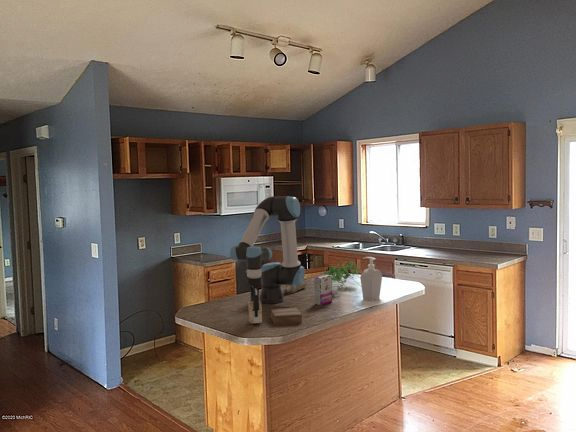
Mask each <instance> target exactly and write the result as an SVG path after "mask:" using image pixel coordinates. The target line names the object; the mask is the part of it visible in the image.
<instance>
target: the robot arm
mask: <svg viewBox="0 0 576 432" xmlns="http://www.w3.org/2000/svg"><path fill="white" fill-rule="evenodd" d="M300 215H301V205H300V202H299V199H298V198H297V197H295V196H290V195H288V196H285V195H283V196H269V197H266V198H265V199H263V200H262V201H261V202H260V203H258V205H257V206H256V207H255V209H254V210H253V216H252V217H251V220H250V222H249V224H248V226H247V227H246V230H245V232H244V233H243V236H242V237H241V239H240V241H239V242H238V245H236V246H232V247H231V248H230V250H229V256H230V260H233V261H240V262H246V270H245V273H246V276H247V278H246V284H247V285H248V286H249V287H250V290H249V291H250V301H253V308H254V309H253V310H252V311H253V323H252V324H260V323H259V301H260V302H261V303H263V304H279V303H282V302H284V301H285V299H284V298H285V297H284V294H283V293H284V292H283V290H282V286H286V285H291V286H299V285H301V284H302V282H303V280H305V276H306V269H305V267H304V266H303V265H302V264H301V261H300V260H299V257H298V246H297V245H298V243H297V231H296V229H297V227H296V222H297V221H298V218H299V216H300ZM272 217H277V222H279V223H280V234H281V245H282V246H281V247H282V259H283V260H282V262H279V261H277V262H275V261H274V262H269V263H268V261H269V260H271V259H272V257H273V252H272V249H271V248H270V247H267V246H263V247H260V246H258V245H255V243H256V241H257V239H258V237H259V235H260V233H261V231H262V230H263V227H264V225H265V223H266V222H267V221H268V220H269V219H270V218H272ZM265 262H267V263H265ZM263 263H264V264H263ZM260 285H261V290H260V288H259V287H258V286H260Z"/></svg>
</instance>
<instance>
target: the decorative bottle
mask: <svg viewBox="0 0 576 432" xmlns="http://www.w3.org/2000/svg"><path fill="white" fill-rule="evenodd" d="M306 287H307V281H306V280H305V279H304V280H303V282H302V284H301V285H299V286H291V285H285V288H283V293H288V294H293V293H295V292H298V291H301V290H302V289H305V288H306Z"/></svg>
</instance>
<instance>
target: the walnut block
mask: <svg viewBox="0 0 576 432" xmlns="http://www.w3.org/2000/svg"><path fill="white" fill-rule="evenodd" d="M270 318H271V321H272V322H273V324H274V325H275V326H281V325H294V324H302V323H303V322H302V320H303V315H302V313H301V312H300V310H299V309H298V308H297V307H287V308H271V309H270Z"/></svg>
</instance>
